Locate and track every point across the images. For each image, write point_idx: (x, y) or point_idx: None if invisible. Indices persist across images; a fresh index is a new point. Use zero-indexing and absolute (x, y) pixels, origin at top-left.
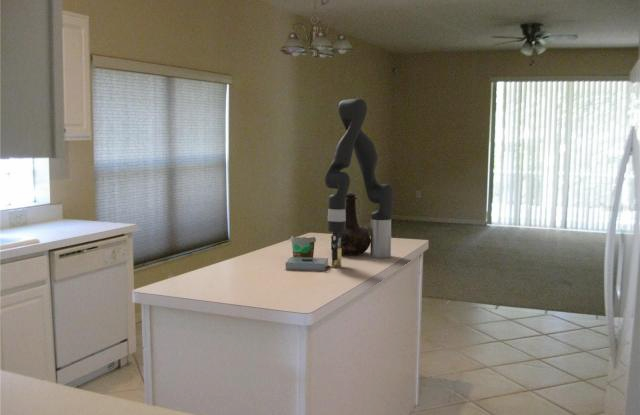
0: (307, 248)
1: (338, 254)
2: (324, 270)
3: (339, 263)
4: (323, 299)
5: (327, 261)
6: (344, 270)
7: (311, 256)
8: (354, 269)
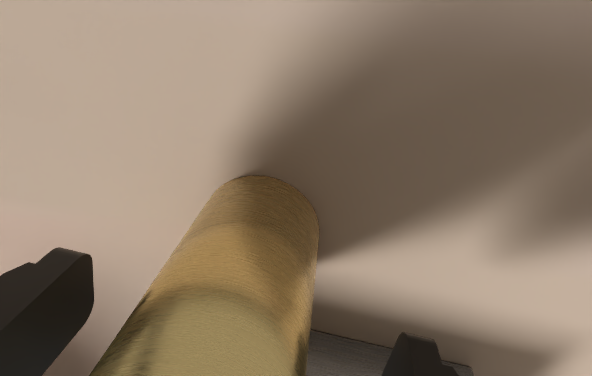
0: None
1: (301, 362)
2: (452, 363)
3: (305, 234)
4: None
5: None
6: (495, 166)
7: None
8: (457, 2)
